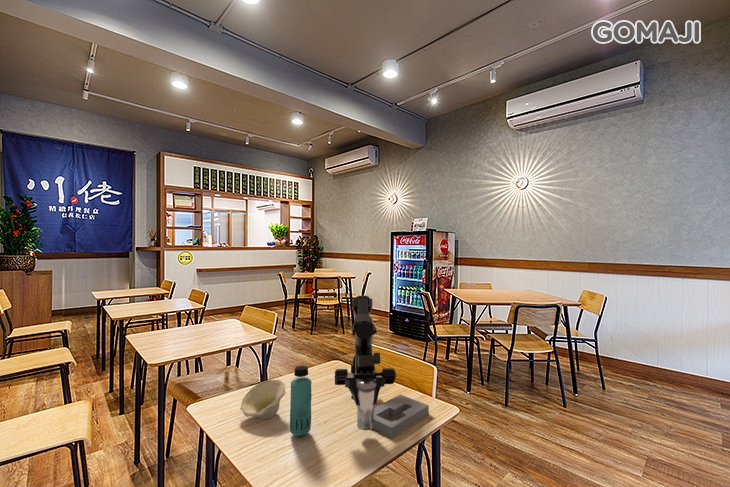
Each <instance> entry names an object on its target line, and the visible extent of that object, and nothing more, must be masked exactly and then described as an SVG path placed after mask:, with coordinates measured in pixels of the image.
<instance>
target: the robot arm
mask: <svg viewBox="0 0 730 487" xmlns="http://www.w3.org/2000/svg"><path fill="white" fill-rule="evenodd" d="M351 302H352V303H351V304H352V306H351V310H353V316H354V317H355V318H354V323H352V327H351V328H352V329H351V330H352V331H351V334H352V336H354V356H353V358H352V364H351V365H350V372H349V371H348V368H336V369H335V371H334V385H335V386H344V387H345V388H347V389H348V390H349V391H350V394H351V399H353V401H354V403H355V406H356V407H357V406H358V389H357V388H356V381H357V380H358V379H360V378H372V379H375V380H376V389H375V397H374V407H377V403H378V398H379V393H380V390H381V388H382V387H383V388H384V387H385V385H393V384H395V381H396V378H397V371H396V369H394V367H389V368H386V367H383V368H382V369H381V372H376V368H375V366H376V365H380V364H381V353H380V352H374V353H373V340H374V336H376V334H377V333H378V332H377V330H378V329H377V327H376V325H375V323H373V318H372V317H370V315H371V311H372V310H373V298H370V296H368V295H357V296H356V297H354V298H352V299H351Z"/></svg>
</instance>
